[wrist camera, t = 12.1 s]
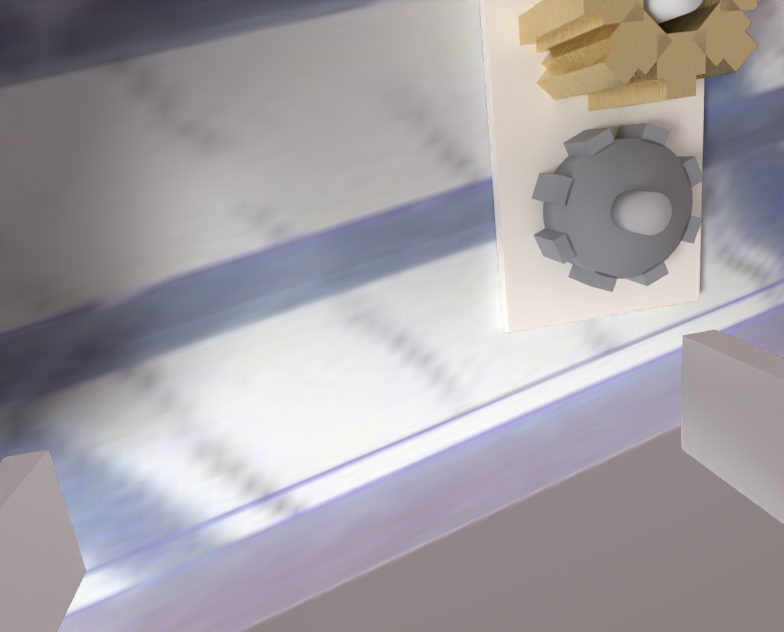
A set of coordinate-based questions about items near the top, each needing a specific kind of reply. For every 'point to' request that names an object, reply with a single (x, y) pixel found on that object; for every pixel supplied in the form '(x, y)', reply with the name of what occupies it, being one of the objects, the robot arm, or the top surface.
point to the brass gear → (634, 48)
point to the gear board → (541, 151)
